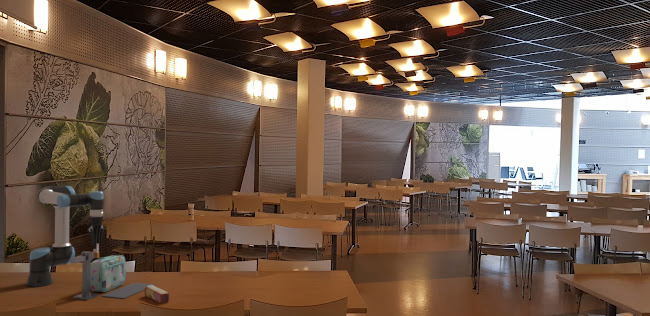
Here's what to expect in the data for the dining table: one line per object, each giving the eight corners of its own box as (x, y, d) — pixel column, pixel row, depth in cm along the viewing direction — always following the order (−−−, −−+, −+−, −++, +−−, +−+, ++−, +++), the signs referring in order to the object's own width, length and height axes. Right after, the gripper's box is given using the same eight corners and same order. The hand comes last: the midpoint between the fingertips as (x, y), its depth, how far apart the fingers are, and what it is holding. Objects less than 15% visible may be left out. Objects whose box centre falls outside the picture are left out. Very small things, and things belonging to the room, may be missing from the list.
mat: (101, 296, 292) (101, 295, 292) (134, 283, 323) (134, 282, 323) (124, 298, 289) (124, 297, 289) (155, 285, 320) (155, 284, 320)
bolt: (69, 262, 281) (69, 257, 281) (90, 256, 298) (91, 251, 298) (77, 263, 279) (77, 258, 279) (99, 257, 297) (99, 252, 297)
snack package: (170, 302, 284) (170, 291, 284) (159, 304, 280) (159, 293, 280) (154, 294, 299) (154, 283, 299) (143, 296, 295) (143, 285, 295)
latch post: (72, 298, 287) (73, 252, 287) (84, 294, 296) (85, 249, 296) (86, 300, 284) (87, 254, 284) (98, 295, 294) (99, 250, 294)
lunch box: (101, 295, 296) (102, 260, 296) (87, 293, 298) (87, 259, 298) (127, 284, 322) (128, 252, 322) (114, 283, 324) (114, 251, 324)
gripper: (94, 217, 291) (93, 256, 291) (108, 215, 304) (108, 252, 304) (83, 217, 293) (83, 255, 293) (98, 214, 305) (98, 251, 305)
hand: (95, 253), depth 298 cm, fingers closed
